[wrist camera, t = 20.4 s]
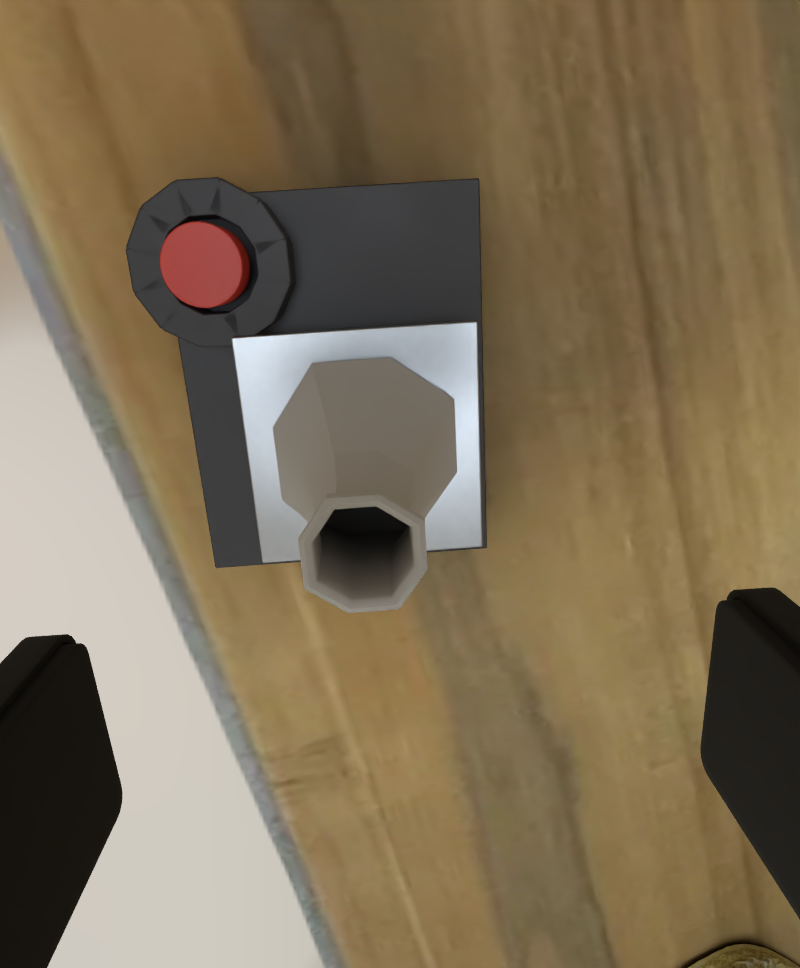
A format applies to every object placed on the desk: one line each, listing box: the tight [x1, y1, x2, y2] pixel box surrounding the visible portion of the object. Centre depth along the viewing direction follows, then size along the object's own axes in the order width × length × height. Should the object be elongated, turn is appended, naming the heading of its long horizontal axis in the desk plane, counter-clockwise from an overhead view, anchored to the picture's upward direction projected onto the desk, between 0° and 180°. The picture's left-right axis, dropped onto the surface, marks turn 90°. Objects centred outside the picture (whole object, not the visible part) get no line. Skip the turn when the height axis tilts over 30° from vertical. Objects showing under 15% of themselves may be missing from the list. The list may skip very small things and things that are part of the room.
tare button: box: [160, 221, 250, 308], centre depth 23 cm, size 3×3×2 cm
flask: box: [273, 357, 457, 613], centre depth 20 cm, size 7×7×10 cm
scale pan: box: [231, 320, 483, 563], centre depth 25 cm, size 9×9×1 cm
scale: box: [126, 177, 487, 568], centre depth 26 cm, size 15×13×3 cm
